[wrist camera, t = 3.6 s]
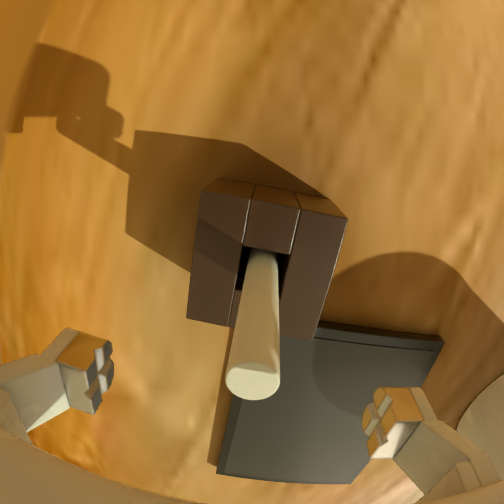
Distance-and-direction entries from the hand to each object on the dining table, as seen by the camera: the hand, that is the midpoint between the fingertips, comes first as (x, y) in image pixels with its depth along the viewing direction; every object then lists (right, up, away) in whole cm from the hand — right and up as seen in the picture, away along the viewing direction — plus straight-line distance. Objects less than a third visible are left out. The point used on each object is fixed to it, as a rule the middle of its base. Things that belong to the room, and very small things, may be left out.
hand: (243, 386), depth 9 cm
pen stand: (+1, +4, +12) cm, 13 cm away
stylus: (+1, +4, +12) cm, 13 cm away
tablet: (+6, -12, +18) cm, 22 cm away
